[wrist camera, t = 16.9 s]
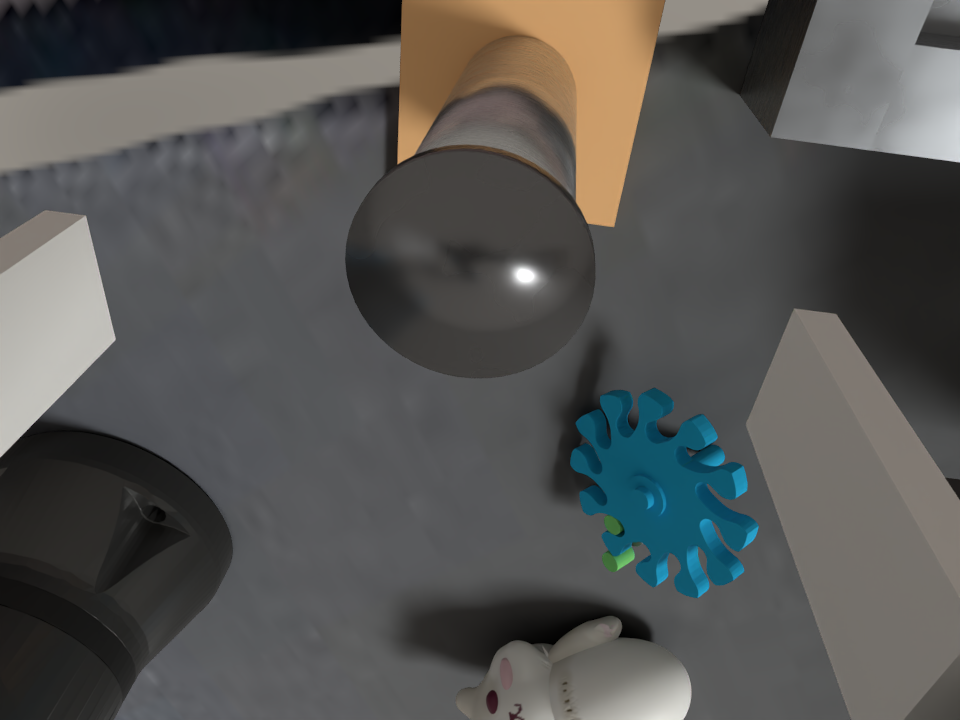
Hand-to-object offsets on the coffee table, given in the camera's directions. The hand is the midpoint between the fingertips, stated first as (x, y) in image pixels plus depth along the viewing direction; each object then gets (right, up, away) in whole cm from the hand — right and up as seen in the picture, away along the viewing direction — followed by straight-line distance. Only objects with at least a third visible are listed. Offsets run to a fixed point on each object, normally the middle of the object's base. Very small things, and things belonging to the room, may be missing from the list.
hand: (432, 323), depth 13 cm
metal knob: (+2, +9, +12) cm, 16 cm away
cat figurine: (+7, -20, +33) cm, 39 cm away
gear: (+9, -5, +22) cm, 25 cm away
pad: (+2, +9, +13) cm, 16 cm away
